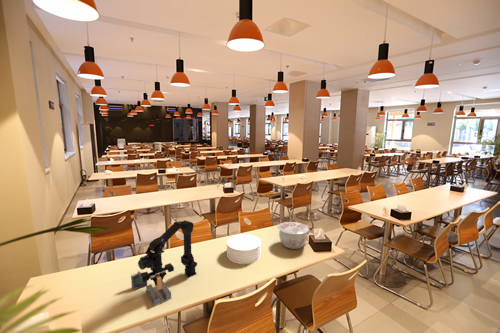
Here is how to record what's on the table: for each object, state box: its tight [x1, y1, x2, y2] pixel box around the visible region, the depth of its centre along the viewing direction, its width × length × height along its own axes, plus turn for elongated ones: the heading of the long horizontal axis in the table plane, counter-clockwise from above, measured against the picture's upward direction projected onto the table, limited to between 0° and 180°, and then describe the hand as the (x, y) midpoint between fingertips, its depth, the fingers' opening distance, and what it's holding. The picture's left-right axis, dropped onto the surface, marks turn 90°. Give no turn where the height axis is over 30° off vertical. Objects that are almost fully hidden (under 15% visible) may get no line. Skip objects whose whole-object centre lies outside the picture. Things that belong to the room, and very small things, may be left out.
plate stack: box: [226, 233, 262, 265], centre depth 193 cm, size 28×28×12 cm
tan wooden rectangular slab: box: [154, 273, 162, 290], centre depth 145 cm, size 2×6×8 cm, turn 40°
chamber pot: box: [277, 221, 311, 250], centre depth 209 cm, size 28×28×21 cm
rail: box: [145, 279, 172, 307], centre depth 146 cm, size 10×16×4 cm, turn 39°
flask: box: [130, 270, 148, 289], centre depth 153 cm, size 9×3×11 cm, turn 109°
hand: (158, 284), depth 145 cm, fingers closed on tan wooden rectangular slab, 2 cm apart
